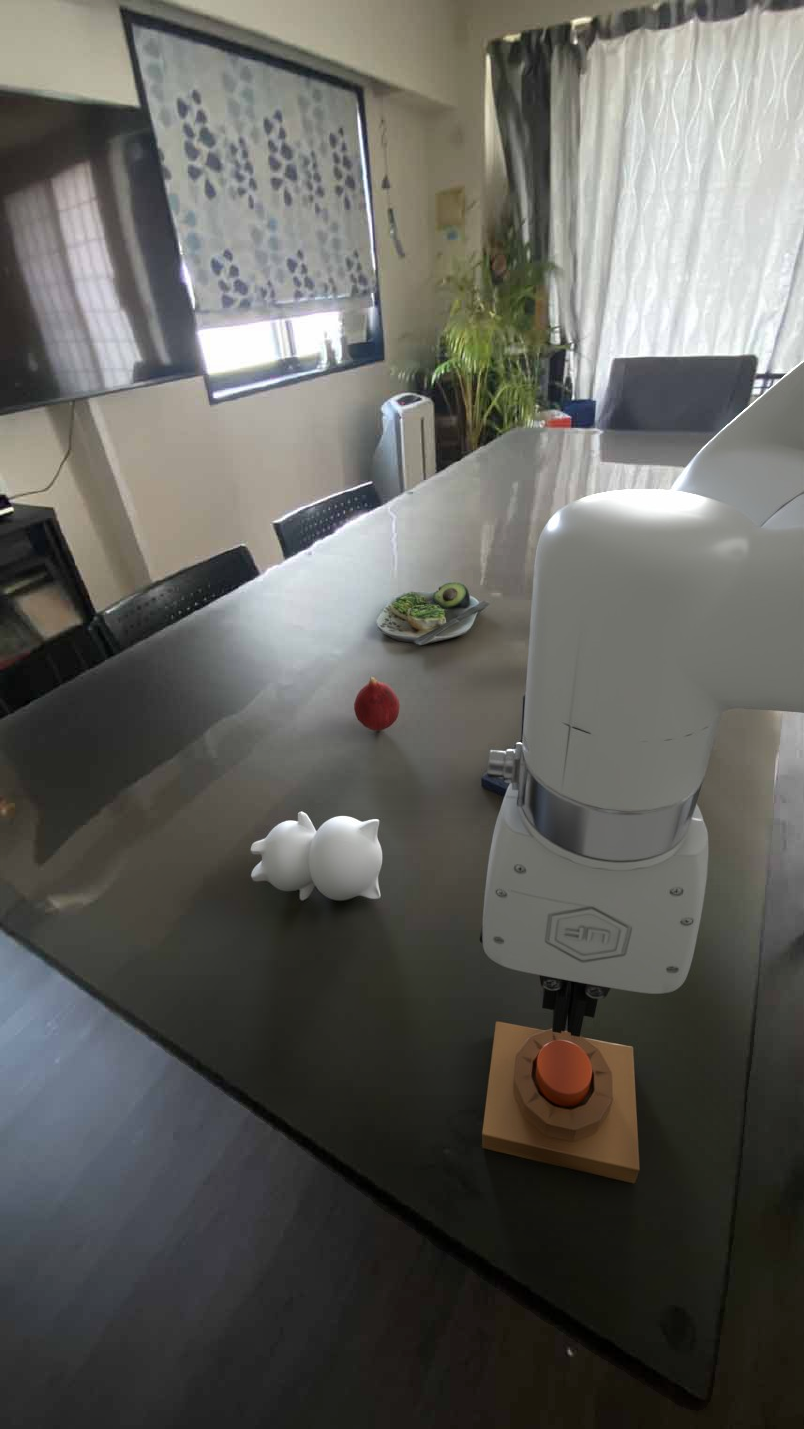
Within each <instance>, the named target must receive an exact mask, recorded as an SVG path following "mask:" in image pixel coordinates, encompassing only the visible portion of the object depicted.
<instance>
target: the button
mask: <svg viewBox="0 0 804 1429" xmlns="http://www.w3.org/2000/svg"><path fill="white" fill-rule="evenodd" d="M591 1078H592V1067H591V1063H590V1060H589V1058H588V1056H587V1055H586V1054H585V1052H584V1051H583V1050H582V1049H581V1048H580V1047H579V1046H577V1045H576V1044H574V1043H572V1042H569V1041H565V1040H555V1041H551V1042H549V1043H547V1044H546V1045H545V1046H544V1047H543V1048H542V1049H541V1050H540V1052H539V1054H538V1058H537V1066H536V1080H537V1084H538V1087H539V1089H540V1090H541V1092H542V1093H543V1094H544V1096H545V1097H546V1098H547V1099H549V1100H550V1101H551V1102H553V1103H555V1104H557V1105H561V1106H574V1105H577V1104H579V1103H580V1102H582V1101H583V1100H584V1099H585V1097H586V1096H587V1094H588V1092H589V1087H590V1083H591Z"/></svg>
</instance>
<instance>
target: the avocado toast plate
mask: <svg viewBox="0 0 804 1429" xmlns="http://www.w3.org/2000/svg"><path fill="white" fill-rule="evenodd" d="M489 605H490V602H489V600H485V599H484V600H482V601H479V600H478V599H476V598H475V597H474V596H472V595H470V592H469V589H468V587H467V586H465V585H464V584H463V583H460V582H448V583H443V585H441V586H439V587H438V590H436V591H426V590H424V591H423V590H411V591H406V592H402V593H399V594H396V595H394V596H392V597H391V598H390V599H389V600H388V601H387V603H386V604H385V606H384V608H382V610H381V612H380V614H379V615H378V617H377V619H376V620H375V624H376V627H377V629H378V630H379V631H380V632H381V633H382V634H384V635H386V636H388V637H390V638H391V639H393V640H395V641H399V642H402V643H413V644H414V645H417V646H423V645H427V644H433V643H436V642H440V641H445V640H450V639H453V638H456V637H461V636H463V635H465V634H467V632H469V631H470V630H471V628H472V627H473V625H474V623H475V620H476V618H477V616H478V615H479V614H480V613H481V612H482V611H483V610H485V609H486V608H487V607H488V606H489Z"/></svg>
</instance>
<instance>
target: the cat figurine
mask: <svg viewBox="0 0 804 1429" xmlns="http://www.w3.org/2000/svg"><path fill="white" fill-rule="evenodd" d="M379 826H380V820H379V819H377V818H372V819H368V820H364V821H361V820H359V819H357V818H355V817H352V816H348V815H338V816H334V817H331V818H329V819H328V820H326V821H325V822H323V823H322V824H321V825H320V826H319V828H318V829H317V830H316V828H315V826H314V824H313V822H312V821H311V818H310V817H309V815H308V814H307V813H306V812H304V811H299V812H297V820H285V821H282V822H280V823H278V824H276V825H275V826H274V827H273V828H272V829H271V830H270V831H269V832H268V834H267V835H266V837H265V838H262V839H259V840H256V841H254V842H253V843H252V844H251V847H250V853H251V854H252V855H260V856H261V860H260V862H258V863H257V864H256V865H255V866H254V868H253V869H252V871H251V874H250V878H251V880H252V881H253V882H265V881H266V882H268V883H270V885H272V886H273V887H274V888H276V889H277V890H279V891H282V892H293V891H299V900H301V901H304V900H307V899H308V898H309V897H310V896H311V894H312V893H313V891H314V889H315V887H316V889H317V890H318V891H319V893H320V894H322V895H323V896H324V897H326V898H327V899H330V900H334V901H347V900H350V899H354V898H355V897H363V898H366V899H370V900H378V899H380V898H381V895H382V894H381V890H380V885H379V874H380V872H381V869H382V864H383V850H382V846H381V843H380V841H379V839H378V830H379Z"/></svg>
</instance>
